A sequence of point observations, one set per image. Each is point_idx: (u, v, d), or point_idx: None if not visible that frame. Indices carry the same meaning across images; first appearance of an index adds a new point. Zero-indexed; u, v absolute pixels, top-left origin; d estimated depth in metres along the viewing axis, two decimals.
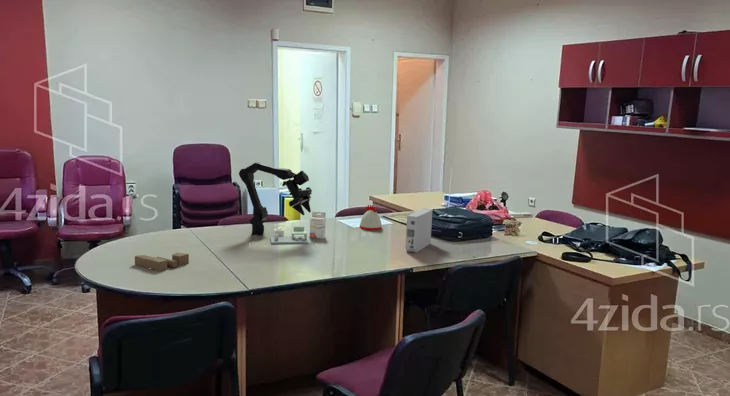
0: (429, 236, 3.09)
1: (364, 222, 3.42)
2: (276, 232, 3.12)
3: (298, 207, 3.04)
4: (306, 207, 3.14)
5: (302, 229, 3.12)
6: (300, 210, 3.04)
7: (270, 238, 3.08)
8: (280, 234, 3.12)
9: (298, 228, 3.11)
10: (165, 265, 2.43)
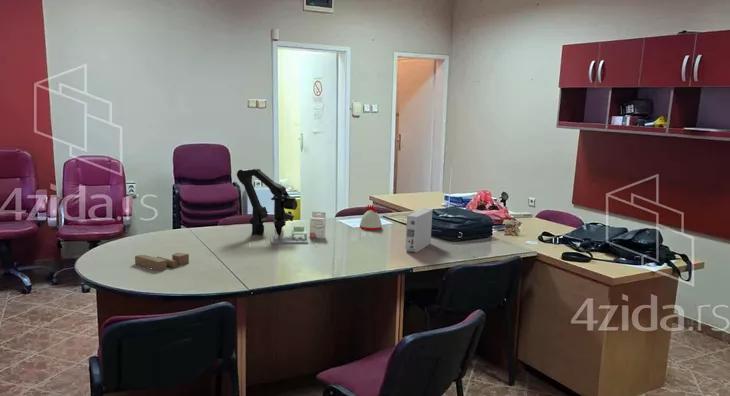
0: (429, 236, 3.09)
1: (364, 222, 3.42)
2: (276, 232, 3.12)
3: (278, 227, 3.10)
4: None
5: (302, 229, 3.12)
6: (279, 231, 3.11)
7: (270, 238, 3.08)
8: (280, 234, 3.12)
9: (298, 228, 3.11)
10: (165, 265, 2.44)
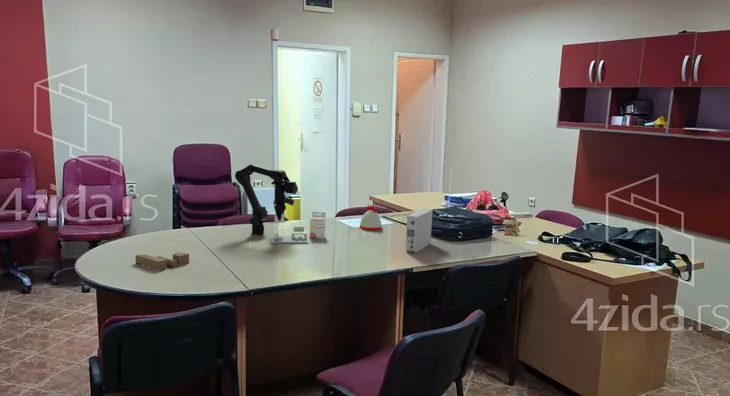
0: (429, 236, 3.09)
1: (364, 222, 3.42)
2: (277, 217, 3.10)
3: (279, 212, 3.09)
4: None
5: (302, 229, 3.12)
6: (279, 215, 3.09)
7: (270, 238, 3.08)
8: (281, 219, 3.11)
9: (298, 228, 3.11)
10: (164, 265, 2.44)
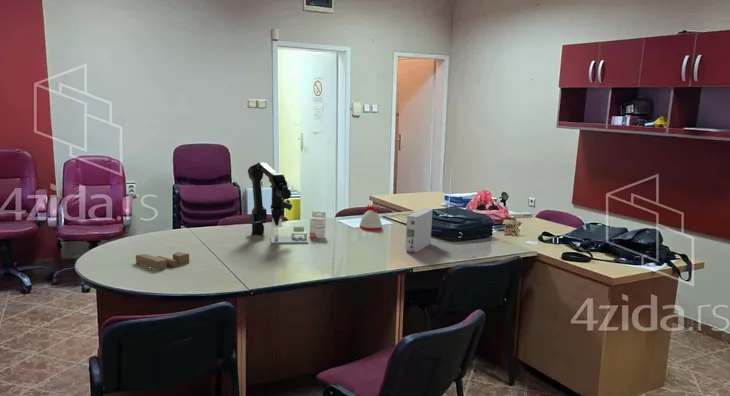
0: (429, 236, 3.09)
1: (364, 222, 3.42)
2: None
3: (276, 216, 2.97)
4: None
5: (302, 229, 3.12)
6: (276, 220, 2.97)
7: (270, 238, 3.08)
8: (278, 224, 2.99)
9: (298, 228, 3.11)
10: (164, 264, 2.45)
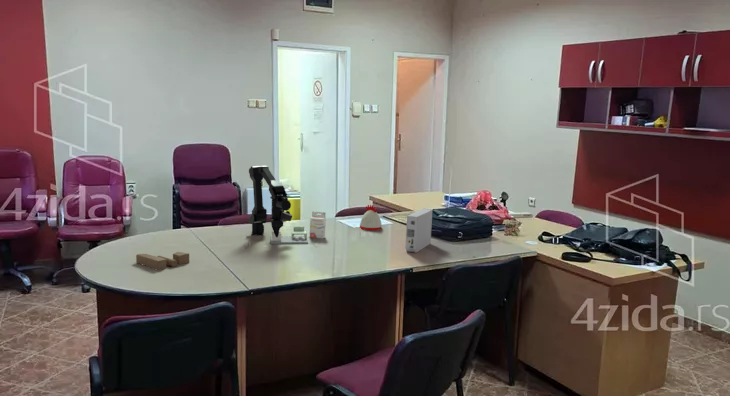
0: (429, 236, 3.09)
1: (364, 222, 3.42)
2: (274, 235, 3.00)
3: (276, 228, 2.96)
4: None
5: (302, 229, 3.12)
6: (276, 232, 2.97)
7: (270, 238, 3.08)
8: (278, 237, 3.00)
9: (298, 228, 3.11)
10: (164, 264, 2.45)
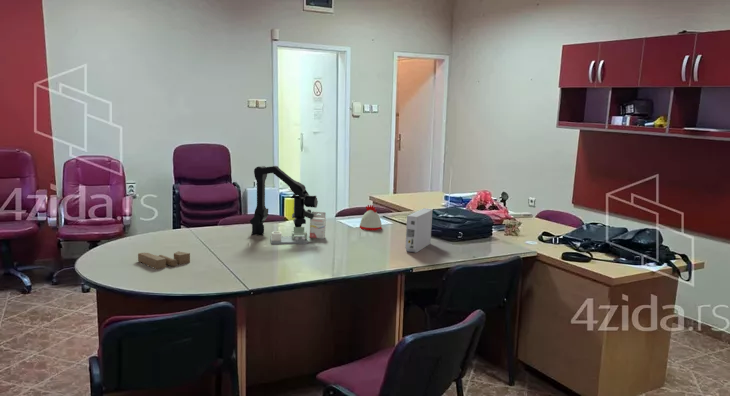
0: (429, 236, 3.09)
1: (364, 222, 3.42)
2: (274, 235, 3.00)
3: (298, 224, 3.12)
4: None
5: (302, 229, 3.11)
6: None
7: (270, 238, 3.08)
8: (278, 237, 3.00)
9: (298, 228, 3.10)
10: (163, 263, 2.46)
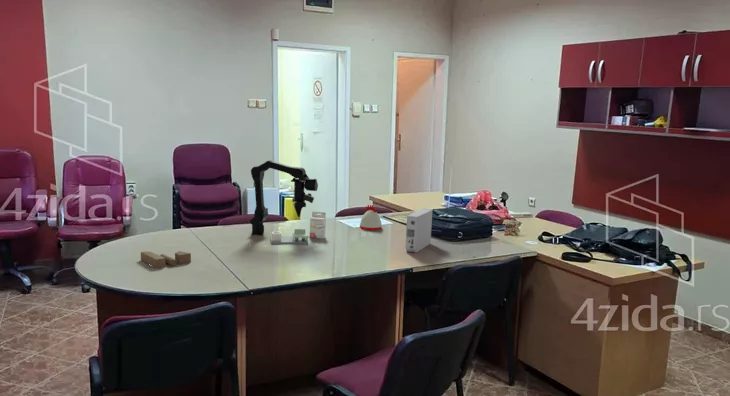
0: (429, 236, 3.09)
1: (364, 222, 3.42)
2: (274, 235, 3.00)
3: (298, 208, 3.11)
4: None
5: (303, 232, 3.05)
6: (298, 212, 3.12)
7: (270, 238, 3.08)
8: (278, 237, 3.00)
9: (299, 231, 3.05)
10: (163, 263, 2.47)
